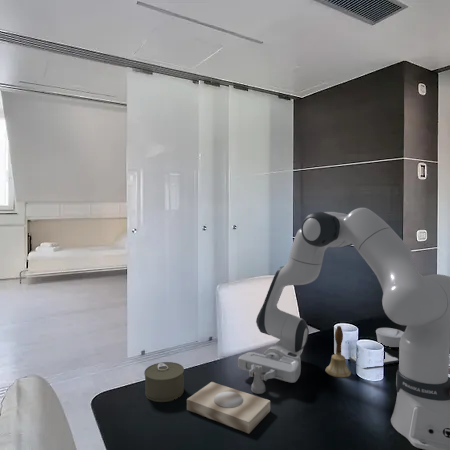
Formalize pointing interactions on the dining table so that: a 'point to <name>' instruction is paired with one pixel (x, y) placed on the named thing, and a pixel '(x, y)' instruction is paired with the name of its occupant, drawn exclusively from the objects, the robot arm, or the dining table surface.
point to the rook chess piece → (258, 380)
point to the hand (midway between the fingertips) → (256, 376)
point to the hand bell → (338, 358)
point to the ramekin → (389, 336)
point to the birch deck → (229, 406)
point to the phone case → (387, 359)
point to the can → (164, 381)
